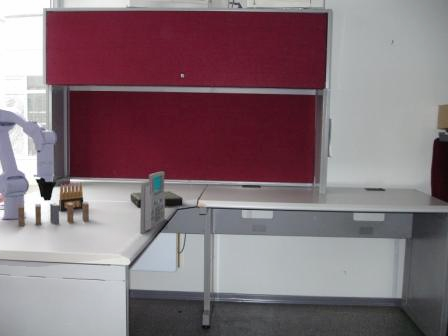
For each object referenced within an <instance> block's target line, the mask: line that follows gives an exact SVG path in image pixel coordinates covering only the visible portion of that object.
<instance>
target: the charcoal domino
mask: <svg viewBox="0 0 448 336" xmlns="http://www.w3.org/2000/svg"><path fill="white" fill-rule="evenodd" d="M49 206H50V207H49V209H50V210H49V213H50V219H49V220H50V222H51V223H52V224H53V225H57V224H60V211H59V204H57V203H55V202H53V203H49Z"/></svg>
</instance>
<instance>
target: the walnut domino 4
mask: <svg viewBox="0 0 448 336" xmlns="http://www.w3.org/2000/svg"><path fill="white" fill-rule="evenodd" d="M89 209H90V207H89V202H88V201H83V202H82V212H81V214H82V222H85V223H86V222H87V223H88V222H89V221H90V219H89V218H90V216H89V215H90V212H89V211H90V210H89Z"/></svg>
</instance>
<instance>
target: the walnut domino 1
mask: <svg viewBox="0 0 448 336" xmlns="http://www.w3.org/2000/svg"><path fill="white" fill-rule="evenodd" d="M24 213H25V204H24V205H19V206H18V218H17V220H18V221H17V222H18V227H25V222H26V221H25V218H24Z"/></svg>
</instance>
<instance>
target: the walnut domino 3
mask: <svg viewBox="0 0 448 336" xmlns="http://www.w3.org/2000/svg"><path fill="white" fill-rule="evenodd" d="M66 214H67V216H66V218H67V219H66V220H67V222H68V224H72V223H74V210H73V203H67V211H66Z"/></svg>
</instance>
